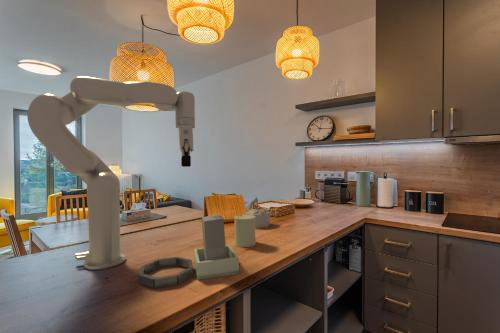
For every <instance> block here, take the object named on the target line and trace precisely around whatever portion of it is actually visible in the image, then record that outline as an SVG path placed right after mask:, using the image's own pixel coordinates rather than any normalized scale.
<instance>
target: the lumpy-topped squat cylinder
mask: <svg viewBox="0 0 500 333" xmlns="http://www.w3.org/2000/svg"><path fill="white" fill-rule="evenodd" d="M270 212H271V211H269V210H267V209H263V208H260V209H257V208H253V209H251V210H248V211H247V212H246V213H245V215H253V216H255V229H261V227H263V228H267V227H270V225H271V223H270V222H271V221H270V220H271V218H270V217H271V216H270V215H271V213H270Z"/></svg>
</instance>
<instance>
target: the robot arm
mask: <svg viewBox="0 0 500 333" xmlns="http://www.w3.org/2000/svg"><path fill="white" fill-rule="evenodd" d="M69 89H70V92H69V93H66V94H65V95H64V96H62V97H60V96H59V95H55V94H51V93H42V94H40V95H38V96H36V97H34V99H33V100H31V102H30V104H29V106H28V109H27V115H26V118H27V123H28V125H29V129H31V133H33V135H34V136H35V137H36V139H37V140H38V141H39V142H40V144H42V145H43V146H44V147H45V148H46V149H47V150H48V151H49V152H50V154H51V155H52V156H53V157H54V158H55V159H56V160H57V161H58V162H59V163H60V164H62V166H63V167H64V168H65V169H66V170H67V171H68V173H70V174H71V175H73V176H78V178H79V179H81V180H82V181H83V182H84V184H86V197H87V198H86V200H87V218H88V219H87V220H88V251H86V252H76V253H75V256H74V259H75V260H76V261H78V262H79V261H84V262H83V268H85V269H87V270H91V271H92V270H93V271H95V270H97V271H98V270H104V269H110V268H112V267H116V266H119V265H120V264H122V263H124V262H125V261H126V254H124V253H121V252H122V251H121V250H122V249H121V248H122V247H121V208H120V207H121V206H120V205H121V204H120V201H121V200H120V199H121V198H120V192H121V189H120V187H121V184H120V183H121V182H120V179H119V178H118V176H117V175H116V174H115V173H114V172H113V171H112V170H111V169H110V167H108V165H106V163H105V162H104V161H103V160H102V159H101V158H100V157H99V156H98V155H97V154H96V153H95V152H94V151H92V150H90V149H88V148H87V147H86V146H85V145H84V144H82V142H81V141H79V139H78V138H77V137H76V135H74V134H73V133H72V131H70V129H69V128H68V127H67V126H68V125H69V124H72V123H73V122H74V121H76V120H78V119H79V118H81V117H82V116H83V115H85V114H87V113H88V112H90V111H91V110H92V109H94V108H95V107H96V106H98V105H100V104H101V105H109V106H119V107H128V106H129V107H130V106H133V105H136V104H154V106H155V107H156V108H157V110H159V111H162V112H173V111H175V115H174V117H175V128H177V129H178V140H179V143H178V144H179V150H180V152H181V167H183V168H186V167H187V168H188V167H191V165H192V164H191V163H192V162H191V161H192V160H191V159H192V157H191V153H193V151H194V133H193V132H194V130H193V129H195V127H196V121H195V120H196V112H195V109H196V108H195V107H196V105H195V104H196V103H195V95H194V94H193V93H192V92H189V91H178V92H177V90H176V89H175V88H174V87H172V86H171V85H170V84H165V83H158V82H153V81H119V80H112V79H106V78H99V77H93V76H92V77H91V76H83V75H81V76H76V77H74V78H73V79H72V80H71V82H70V84H69Z"/></svg>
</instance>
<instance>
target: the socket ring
mask: <svg viewBox="0 0 500 333" xmlns="http://www.w3.org/2000/svg"><path fill="white" fill-rule="evenodd" d="M175 266H177V267H181V268H183V269H184V270H182V271H180V272H178V273H177V274H171V275H164V276H157V277H156V276H153V275H149V273H151V272H153V271H155V270H158V269H159V268H167V267H175ZM137 275H138V284H139V285H143V286H145V287H148V288H151V289H161V288H165V287H166V288H167V287H173V286H178V285H180V284H182V283H184V282H185V281H187V280H189V279H190V278H192V277H193V276H194V263H193V260H192V259H189V258H185V257H180V256H172V257H164V258H157V259H154V260H152V261H150V262H148V263H145V264H143V265H141V266H140V269H139V272H138V274H137Z"/></svg>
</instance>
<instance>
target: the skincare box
mask: <svg viewBox="0 0 500 333" xmlns="http://www.w3.org/2000/svg"><path fill="white" fill-rule="evenodd" d="M224 221H225V219H224V218H223V217H222V216H221V214H218V215H216V214H214V215H207V216H206V215H205V216H202V217H201V224H202V225H201V226H202V240H203V242H202V243H203V248H204V259H205V261H209V260H217V259H225V258H226V233H225V222H224Z"/></svg>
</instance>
